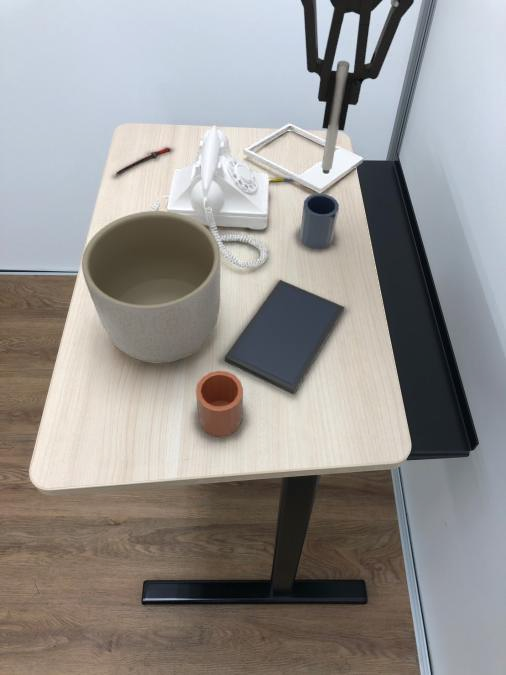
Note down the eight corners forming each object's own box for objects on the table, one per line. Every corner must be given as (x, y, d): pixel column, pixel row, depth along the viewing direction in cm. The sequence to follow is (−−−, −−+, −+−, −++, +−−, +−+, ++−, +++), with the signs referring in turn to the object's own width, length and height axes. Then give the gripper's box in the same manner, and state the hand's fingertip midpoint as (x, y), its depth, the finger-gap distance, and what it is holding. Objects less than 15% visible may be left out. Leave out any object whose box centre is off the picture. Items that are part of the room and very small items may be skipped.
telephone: (266, 274, 86) (270, 213, 76) (136, 268, 86) (123, 206, 76) (269, 176, 101) (273, 114, 91) (159, 171, 101) (150, 108, 91)
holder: (337, 233, 92) (344, 200, 87) (324, 253, 89) (330, 221, 84) (308, 222, 94) (312, 189, 88) (293, 241, 91) (297, 208, 85)
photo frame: (362, 163, 104) (288, 128, 111) (363, 158, 104) (289, 123, 110) (319, 194, 97) (243, 154, 103) (320, 189, 96) (243, 149, 102)
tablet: (343, 310, 82) (344, 306, 81) (294, 394, 73) (294, 390, 72) (279, 283, 85) (280, 279, 84) (224, 360, 76) (224, 356, 75)
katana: (165, 147, 106) (165, 144, 105) (171, 150, 105) (170, 147, 105) (112, 173, 100) (112, 170, 100) (118, 177, 99) (117, 173, 99)
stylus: (332, 170, 80) (351, 62, 67) (328, 176, 79) (346, 67, 66) (323, 167, 80) (340, 59, 67) (319, 173, 79) (335, 64, 66)
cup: (249, 410, 71) (251, 382, 66) (228, 444, 69) (227, 418, 63) (213, 392, 73) (211, 363, 67) (191, 424, 70) (187, 397, 64)
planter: (225, 375, 75) (223, 304, 62) (101, 382, 73) (74, 312, 61) (219, 284, 85) (216, 207, 72) (109, 289, 83) (88, 212, 71)
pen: (237, 179, 99) (237, 180, 100) (238, 182, 99) (237, 184, 100) (312, 175, 101) (311, 177, 101) (312, 179, 100) (311, 180, 101)
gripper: (440, -96, 56) (387, 114, 75) (301, -108, 57) (284, 103, 76) (443, -71, 51) (387, 146, 70) (293, -84, 52) (277, 133, 71)
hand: (333, 123), depth 73 cm, fingers closed on stylus, 1 cm apart
